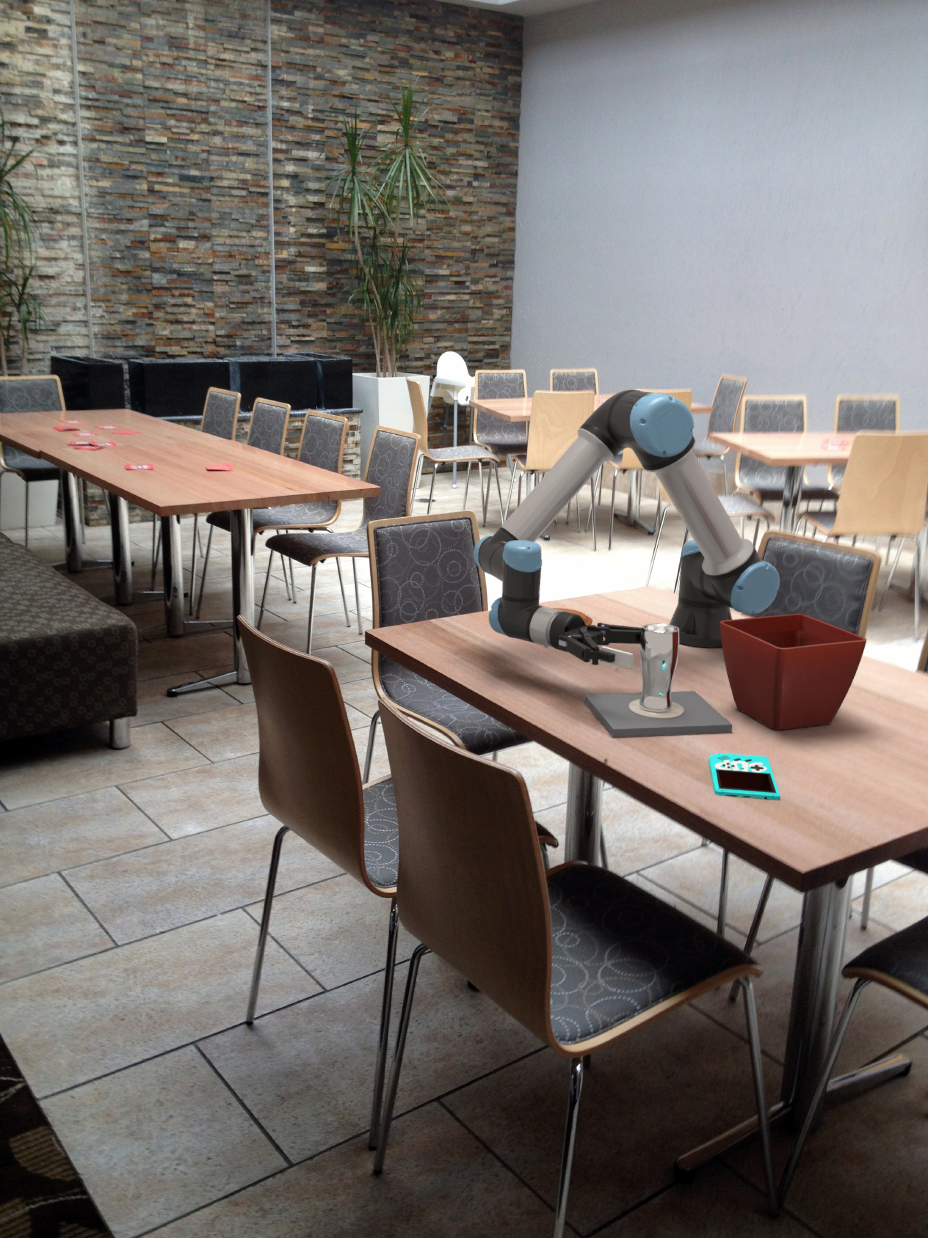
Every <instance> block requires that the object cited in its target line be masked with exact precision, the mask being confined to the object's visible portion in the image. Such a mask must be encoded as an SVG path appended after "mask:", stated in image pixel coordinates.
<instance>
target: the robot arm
mask: <svg viewBox="0 0 928 1238" xmlns="http://www.w3.org/2000/svg"><path fill="white" fill-rule="evenodd" d="M694 423H695V422H694V417H693V414H692V412H691V411H690V409H689V407H688V406H687V405H686V404H685V403H684V402H683V401H682V400H681V399H679V398H677V397H676V396H675V397H674V396H672V395H670V394H667V393H663V392H649V391H643V390H642V391H641V390H639V389H638V390H637V389H628V390H627V389H626V390H621V391H619V392H616V393H615V394H613V395H612V396H610V397H608V398H607V399H606V400H605V401H604V402H602V403H601V405H599V406H598V407H597V408H596V409H595V410H594V411H593V412H592V413H591V415H589V417H588V418H587V419H586V420H585V421H584V422H583V423H582V425H581V426H580V427H579V428H578V429H577V438H576V439H575V440H574V441H573V443H572V444H571V445H570V446H569V447H568V448H567V450H565V452H563V454H562V455H561V457H560V458H558V460H557V461H556V462H555V463H554V465H553V466H551V468H550V469H549V470H548V471H547V473H546V474H545V475H544V476H543V477H542V478H541V480H540V481H538V483H537V484H536V486H535V487H534V488H533V489H532V490H531V491H530V492H529V494H528V495H527V496H526V497H525V498H524V500H522V502H521V503H520V504H519V505H518V506H517V507H516V508H515V509H514V511H513V512H512V513H511V514H510V516H508V518H507V519H506V520H505V521H504V522H503V524H502V525H501V526H500V527H499V528H498V529H497V530H496V532H495V533H494V534H492V535H487V536H484V537H482V538H480V539H479V540H478V541H477V542H476V544H475V545H474V548H473V559H474V562H475V564H476V565H477V566H478V567H479V568H481V570H482V571H483V572H484V573H486V574H488V575H491V576H493V577H494V578H496V579H497V580H499V581H500V582H501V584H502V585H501V587H502V589H501V591H502V592H501V597H498V598H497V599H495V600H494V601H493V603H492V604H491V606H490V609H491V610H490V611H489V612H488V623H489V625H490V628H491V629H492V630H493V631H494V632H495V633H498V634H501V635H503V636H507V637H508V638H510V639H511V638H512V639H518V640H521V641H525V642H528V643H532V644H536V645H540V646H541V645H542V646H543V648H544V649H549V648H551V649H552V648H553V649H555V650H559V651H562V652H566V653H569V654H571V655H572V656H574V657H575V658H577V659H578V660H580V661H581V662H583V663H586V664H587V663H590V662H591V665H592V666H598V665H599V662H601V663H606V664H610V665H612V666H615V667H616V666H617V667H620V668H625V669H628V670H632V669H633V667H634V653H631V652H628V651H624V650H620V649H616V648H611V647H609V645H610V644H626V645H627V644H628V645H631V644H633V645H641V637H642V630H643V626H642V627H639V626H627V625H619V624H618V625H617V624H608V623H603V622H597V624H596V625H595V624H591V625H587V626H586V624H585V622H584V620H583V618H582V617H581V616H580V615H577V614H573V613H569V612H563V611H562V610H558V609H553V608H554V607H548V606H544V605H541V604H540V595H541V593H540V591H541V580H542V579H541V577H542V565H543V560H542V547H541V545H540V544H539V543H537V542H536V541H537V540H538V539H539V537H540V536H541V535H542V534H543V533H544V532H545V531H546V530H547V528H548V527H549V526H550V525H551V524H552V523H553V522H554V520H555V519H556V518H557V517H558V516H559V515H560V513H561V512H562V511H563V510H564V509H565V508H566V507H567V505H569V503H570V502H571V501H572V500H573V499H574V498H575V496H576V495H577V494H578V493H579V492H580V491H581V489H582V488H583V487H584V486H585V485H586V484H587V483H588V481H590V479H591V478H592V477H593V476H594V474H595V473H596V472H597V471H598V470H599V469H600V468H601V466H603V464H604V463H605V462H608V461H609V462H610V461H613V460H614V459H615V458H616V456H617V455H618V454H619V453H620V452H622V451H623V450H625V449H627V448H628V449H631V450H632V451H633V453H634V454H635V456H636V457H637V459H638V461H639V463H640V464H641V466H642V468H643V469H644V470H645V471H646V472H649V473H653V474H654V473H655V475H656V476H657V479H658V480H659V482H660V484H661V486H662V487H663V489H664V490H665V492H666V494H667V496H668V498H669V499H670V501H671V502H672V504H673V506H674V508H675V510H676V512H677V513H678V515H679V516H680V518H681V520H682V521H683V523H684V526H685V527H686V528H687V530H688V532H689V533H690V536H691V537H692V539H691V540H688V541H686V542H685V543H684V544H683V547H682V551H681V555H680V559H681V560H680V561H681V562H680V573H679V588H678V599H677V605H676V607H675V610H674V612H673V614H672V617H671V619H670V621H669V623H668V625H673V626H676V627H678V628H679V644H681V645H685V646H691V647H697V648H721V647H722V640H721V629H720V622H721V621H723V620H733V616H732V612H731V609H732V610H733V611H736V612H738V613H743V614H747V615H756V614H759V613H761V612H763V611H765V610H766V609H767V608H768V607H769V606H770V605H772V603H773V602H774V600H775V599H776V597H777V595H778V590H779V589H780V586H781V585H780V583H781V582H780V580H781V579H780V574H779V572H778V570H777V569H776V567H775V566H774V565H773V564H772V563H770V562H767V561H764V560H763V559H762V558H761V556H760V555H759V553H758V551H757V548H756V547H755V546H754V543H753V542H752V541H751V540H750V539H748V538H742V537H741V536H740V534H739V531H738V530H737V528H736V527H735V525H734V523H733V521H732V520H731V518H730V516H729V514H728V513H727V512H728V511H727V510H726V509H725V507H724V505H723V503H722V501H721V500H720V498H719V496H718V494H717V492H716V490H715V489H714V487H713V486H712V484H711V482H710V480H709V478H708V476H707V475H706V472H705V471H704V468H703V467H702V466H701V464H700V462H699V460H698V457H697V456H696V454H695V453H694V448H695V446H696V439H695V437H694V432H693V429H695V424H694Z"/></svg>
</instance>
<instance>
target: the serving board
mask: <svg viewBox="0 0 928 1238" xmlns="http://www.w3.org/2000/svg"><path fill="white" fill-rule="evenodd" d="M641 694H642V692H628V693H627V692H626V693H625V692H624V693H623V692H621V693H599V694H597V693H595V694H593V693H592V694H584V701H583V702H584V704H585V705H586V706H587V707H588V708H589V710H590V711H591V712H592V713H593V715H594V716H595V717H596V718H597V720H598V721H599V722H600V723H601V725H602V726H603V727H604V728H605V729H606V731H607V732H608V733H609V735H610V736H611V737H612V738H624V737H625V738H632V737H633V738H634V737H652V736H653V737H654V736H655V737H656V736H676V735H677V736H678V735H701V734H703V735H704V734H724V733H725V734H726V733H729V734H731V733H732V732H733V724H732V723H731V721H730V720H728V719H727V718H726V717H725V716H724V715H722V713H720V711H718V710H717V709H715V707H713V706H712V705H711V704H710V703H709V702H708V701H706V699H704V698H703V697H702V696H701V695H700V694H699V693H697V692H696V691H695V690H685V691H684V690H683V691H671V697H672V709H671V710H669V711H665V712H653V711H648V710H644V709H642V708H640V706H639V701H640V698H641Z"/></svg>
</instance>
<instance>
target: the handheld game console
mask: <svg viewBox="0 0 928 1238" xmlns="http://www.w3.org/2000/svg"><path fill="white" fill-rule="evenodd" d="M708 765H709V766H708V767H709V771H710V776H711V782H712V787H713V792H714V794H715V796H725V797H726V796H728V797H735V798H736V797H737V798H738V797H740V798H750V799H761V800H762V799H763V800H764V799H765V798H766V799H767V800H771V801H772V800H774V801H778V800H780V798H781V795H780V791H779V789H778V786H777V782H776V779H775V776H774V773H773V769H772V766H771V764H770V760H769V758H768V756H763V755H753V754H752V755H751V754H749V755H748V754H737V753H713V754H711V755H709V756H708Z"/></svg>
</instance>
